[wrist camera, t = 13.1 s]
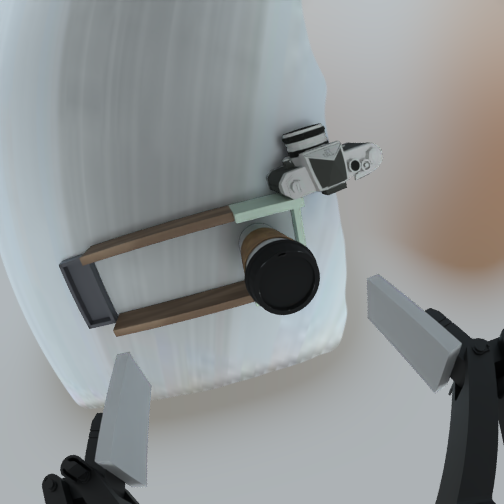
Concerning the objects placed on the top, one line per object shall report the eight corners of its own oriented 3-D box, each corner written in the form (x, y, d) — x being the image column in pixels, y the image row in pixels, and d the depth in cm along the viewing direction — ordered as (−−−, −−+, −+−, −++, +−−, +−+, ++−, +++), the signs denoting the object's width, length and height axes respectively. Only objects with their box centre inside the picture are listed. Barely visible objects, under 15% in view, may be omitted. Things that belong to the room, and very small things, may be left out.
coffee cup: (277, 207, 42) (319, 236, 28) (289, 258, 45) (330, 304, 31) (223, 224, 41) (239, 262, 27) (239, 274, 44) (260, 330, 30)
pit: (63, 260, 37) (58, 265, 36) (89, 251, 38) (85, 255, 36) (92, 323, 42) (89, 328, 40) (118, 316, 42) (116, 322, 41)
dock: (228, 205, 40) (234, 214, 34) (293, 189, 41) (310, 195, 35) (248, 286, 45) (256, 306, 39) (306, 269, 46) (322, 286, 40)
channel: (90, 246, 38) (79, 258, 33) (228, 205, 40) (232, 212, 35) (122, 319, 43) (116, 336, 38) (248, 286, 45) (254, 301, 40)
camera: (344, 114, 39) (382, 108, 29) (360, 164, 42) (399, 170, 33) (252, 145, 38) (270, 142, 29) (273, 199, 41) (296, 213, 32)
